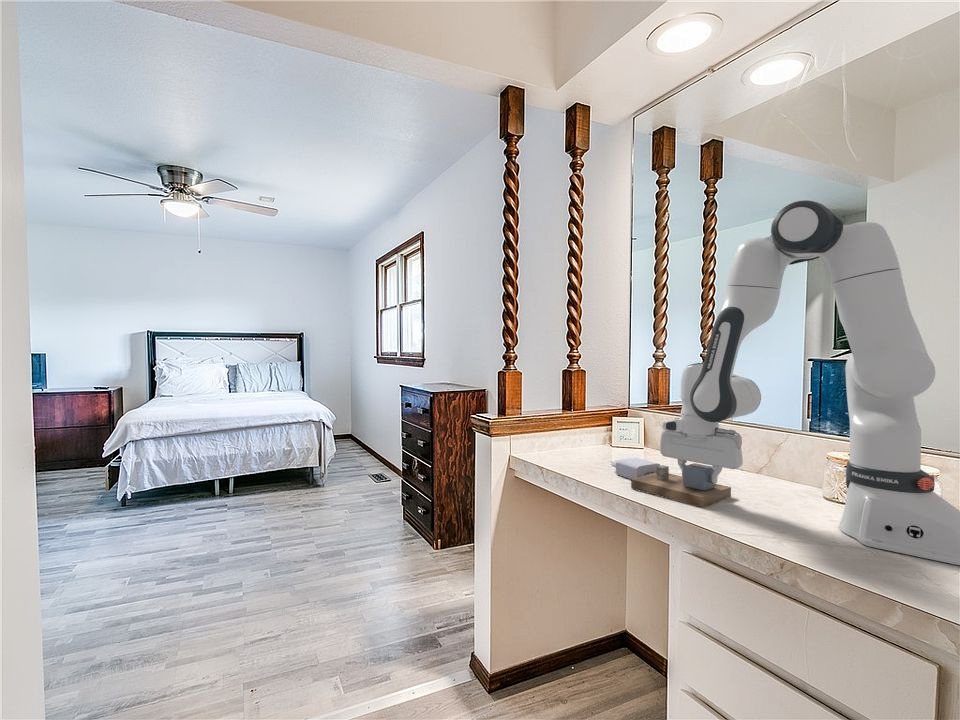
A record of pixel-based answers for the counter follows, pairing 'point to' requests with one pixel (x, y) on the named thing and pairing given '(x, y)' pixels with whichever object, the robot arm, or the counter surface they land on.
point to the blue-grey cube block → (697, 476)
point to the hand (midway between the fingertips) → (699, 479)
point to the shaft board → (679, 488)
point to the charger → (634, 467)
